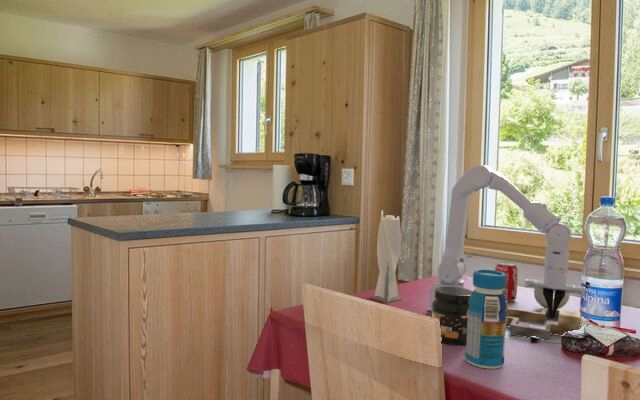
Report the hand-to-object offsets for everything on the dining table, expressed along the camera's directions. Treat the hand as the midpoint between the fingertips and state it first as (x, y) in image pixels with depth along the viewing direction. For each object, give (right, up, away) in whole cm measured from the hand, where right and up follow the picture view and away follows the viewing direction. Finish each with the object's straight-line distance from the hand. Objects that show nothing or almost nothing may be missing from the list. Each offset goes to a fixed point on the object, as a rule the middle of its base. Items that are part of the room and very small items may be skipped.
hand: (552, 317), depth 135 cm
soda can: (-2, -1, +29) cm, 29 cm away
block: (+3, -4, -2) cm, 5 cm away
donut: (+8, -2, +19) cm, 21 cm away
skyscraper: (-42, 0, +25) cm, 49 cm away
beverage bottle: (-27, -4, -25) cm, 37 cm away
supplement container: (-30, -3, -10) cm, 32 cm away
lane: (-3, -3, +2) cm, 5 cm away
